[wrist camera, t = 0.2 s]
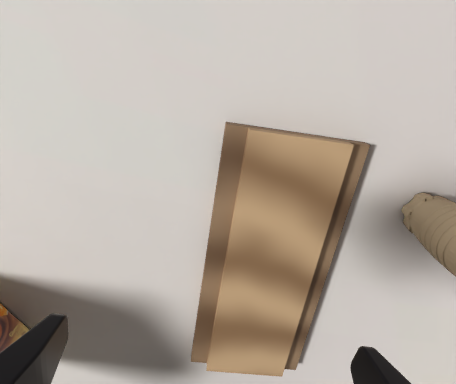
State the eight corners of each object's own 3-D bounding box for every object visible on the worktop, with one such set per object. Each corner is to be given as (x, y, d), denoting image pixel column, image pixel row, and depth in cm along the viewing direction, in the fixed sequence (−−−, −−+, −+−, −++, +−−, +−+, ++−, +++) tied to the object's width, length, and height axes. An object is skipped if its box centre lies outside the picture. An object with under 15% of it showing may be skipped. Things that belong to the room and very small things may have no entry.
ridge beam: (293, 362, 30) (297, 377, 29) (191, 354, 29) (190, 369, 28) (364, 142, 22) (375, 148, 21) (225, 121, 21) (226, 126, 20)
